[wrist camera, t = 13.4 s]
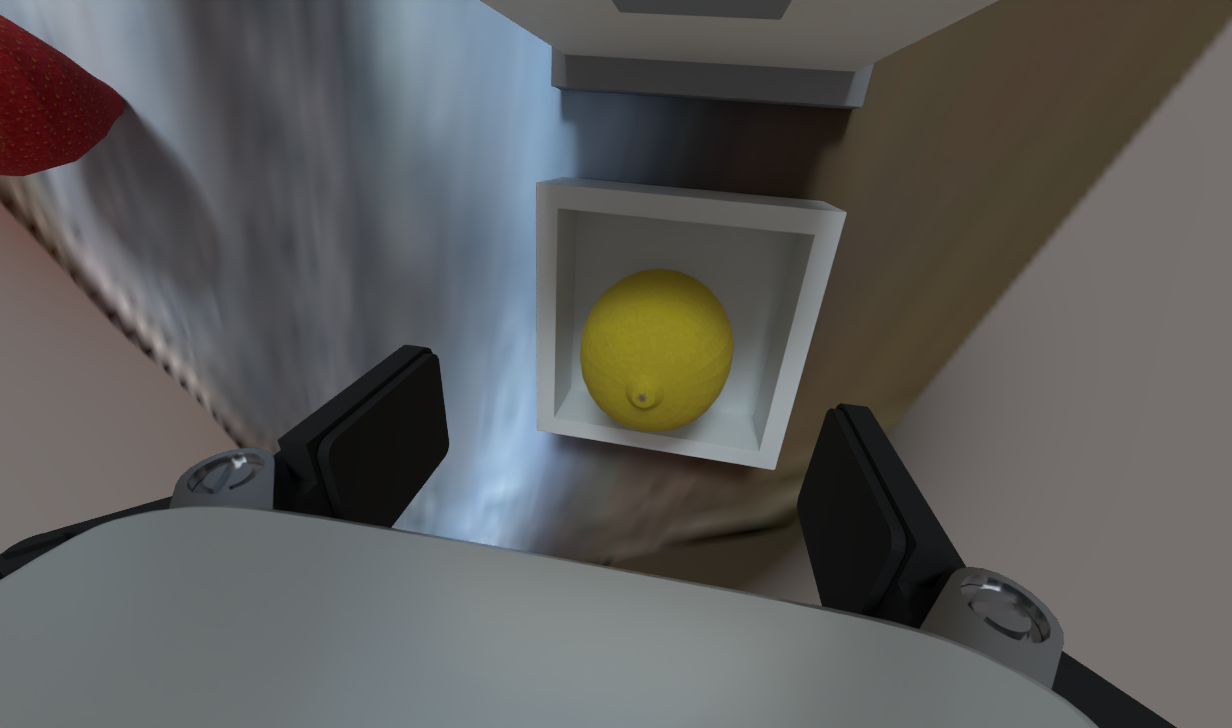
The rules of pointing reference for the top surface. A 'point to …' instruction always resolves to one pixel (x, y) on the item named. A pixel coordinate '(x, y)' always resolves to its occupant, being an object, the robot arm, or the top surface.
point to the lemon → (656, 350)
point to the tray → (717, 257)
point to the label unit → (729, 45)
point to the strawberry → (47, 105)
